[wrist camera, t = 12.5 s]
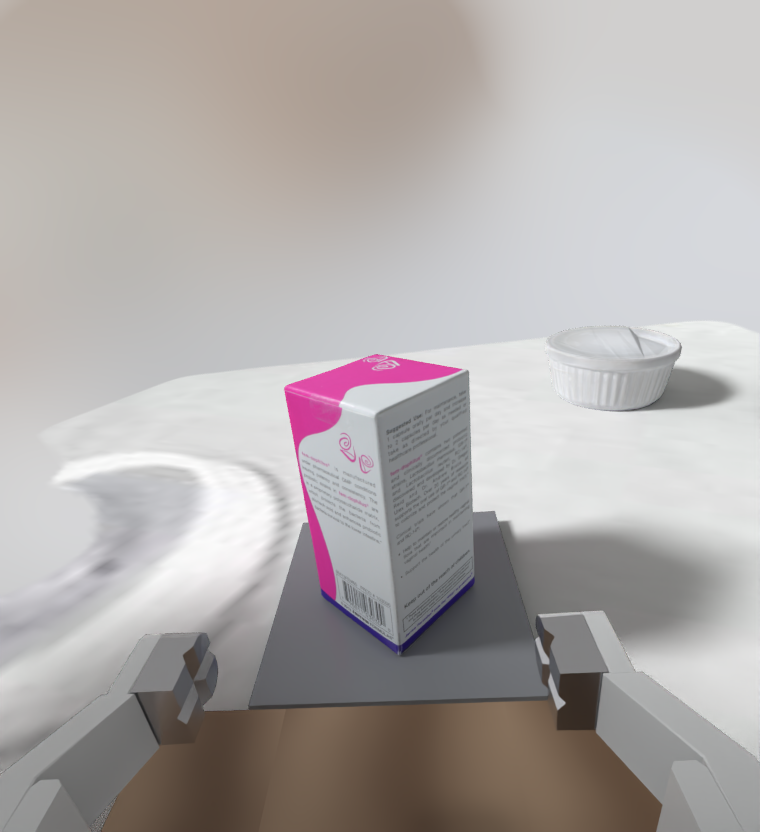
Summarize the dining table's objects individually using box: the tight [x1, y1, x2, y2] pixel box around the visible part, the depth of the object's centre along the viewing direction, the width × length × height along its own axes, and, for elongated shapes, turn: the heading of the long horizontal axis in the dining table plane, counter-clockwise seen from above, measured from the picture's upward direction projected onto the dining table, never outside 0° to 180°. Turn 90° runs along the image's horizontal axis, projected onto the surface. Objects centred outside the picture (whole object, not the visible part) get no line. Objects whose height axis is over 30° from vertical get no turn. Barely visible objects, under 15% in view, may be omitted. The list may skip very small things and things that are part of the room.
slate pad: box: [248, 511, 548, 710], centre depth 24 cm, size 12×12×1 cm
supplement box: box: [284, 354, 475, 655], centre depth 22 cm, size 6×6×12 cm
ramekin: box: [545, 326, 682, 411], centre depth 45 cm, size 11×11×5 cm
